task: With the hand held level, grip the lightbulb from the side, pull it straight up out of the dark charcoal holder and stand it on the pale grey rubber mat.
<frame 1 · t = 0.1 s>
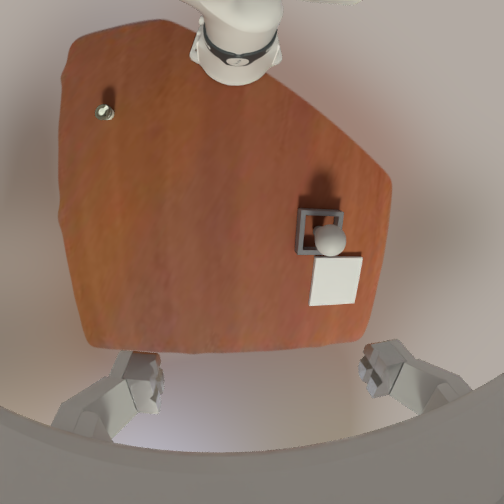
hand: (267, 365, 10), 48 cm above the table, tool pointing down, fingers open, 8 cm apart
lightbulb: (316, 230, 59), resting in holder
holder: (317, 230, 59), on the table
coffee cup: (111, 115, 47), on the table
mat: (335, 280, 64), on the table
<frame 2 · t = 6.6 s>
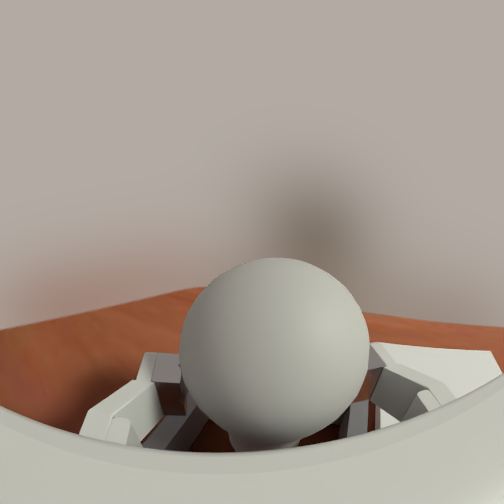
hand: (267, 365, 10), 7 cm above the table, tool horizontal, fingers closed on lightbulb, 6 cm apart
lightbulb: (260, 463, 11), resting in holder, touching gripper
holder: (260, 461, 11), on the table
mat: (450, 406, 13), on the table
when the fingers open (9 cm above the table, at t = 12.1 s): lightbulb drops 1 cm, resting on mat.
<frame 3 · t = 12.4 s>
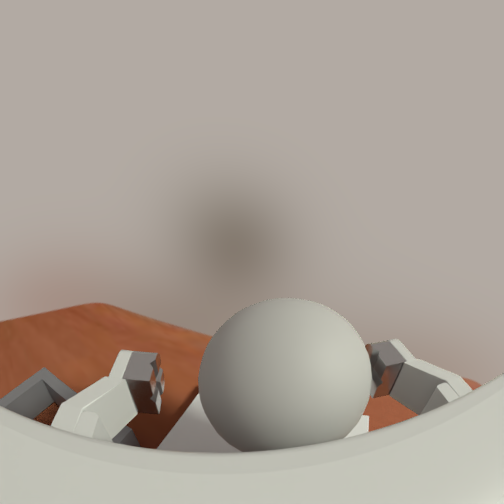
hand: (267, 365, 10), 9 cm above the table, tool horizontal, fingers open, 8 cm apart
lightbulb: (269, 472, 12), point 1 cm above the table, touching mat
holder: (51, 454, 10), on the table
mat: (257, 478, 12), on the table
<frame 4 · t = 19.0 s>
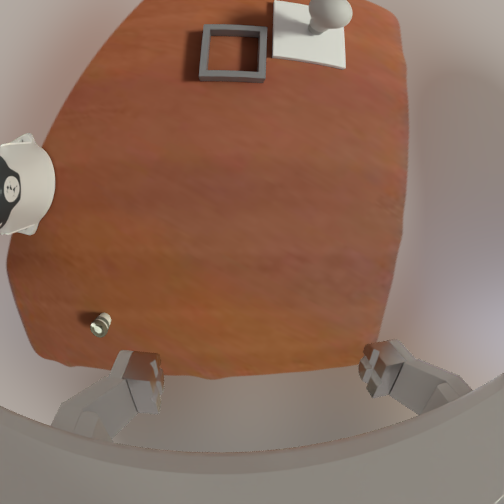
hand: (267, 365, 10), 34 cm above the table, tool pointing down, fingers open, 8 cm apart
lightbulb: (313, 31, 33), point 1 cm above the table, touching mat
holder: (233, 55, 34), on the table
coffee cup: (106, 315, 46), on the table
mat: (308, 33, 34), on the table
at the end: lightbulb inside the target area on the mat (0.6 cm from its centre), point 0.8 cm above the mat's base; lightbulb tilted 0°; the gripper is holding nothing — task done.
